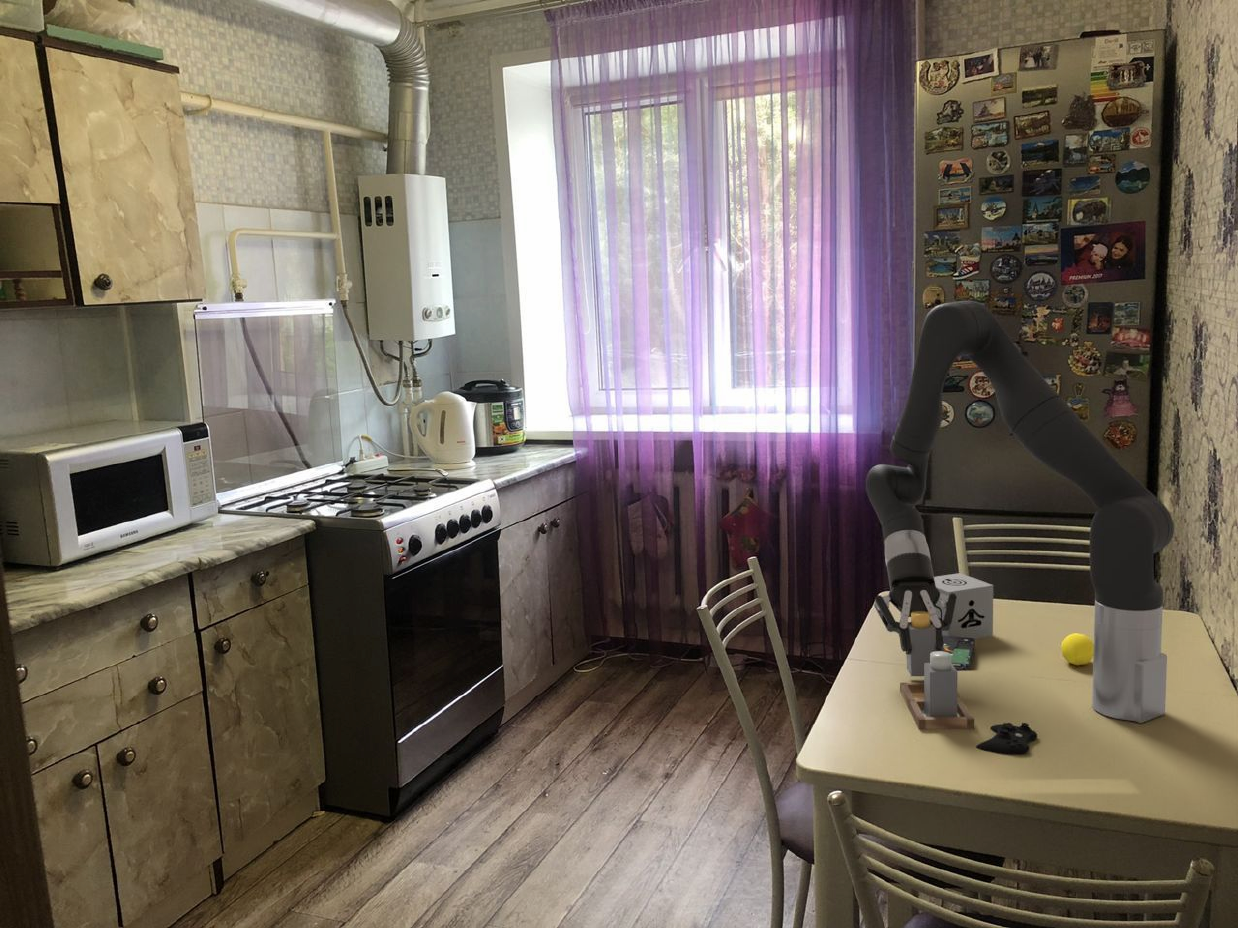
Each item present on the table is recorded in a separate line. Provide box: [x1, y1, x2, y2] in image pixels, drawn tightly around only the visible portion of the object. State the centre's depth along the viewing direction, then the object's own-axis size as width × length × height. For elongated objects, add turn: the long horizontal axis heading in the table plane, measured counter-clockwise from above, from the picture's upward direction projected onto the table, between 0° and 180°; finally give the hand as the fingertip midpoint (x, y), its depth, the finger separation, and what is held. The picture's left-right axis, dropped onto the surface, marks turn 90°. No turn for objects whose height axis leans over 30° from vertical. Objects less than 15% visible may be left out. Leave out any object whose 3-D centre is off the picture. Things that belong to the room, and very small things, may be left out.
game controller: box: [975, 722, 1038, 756], centre depth 145 cm, size 10×5×7 cm
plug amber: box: [906, 611, 936, 677], centre depth 168 cm, size 4×4×10 cm
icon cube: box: [934, 572, 994, 640], centre depth 195 cm, size 10×10×10 cm
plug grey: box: [923, 651, 958, 717], centre depth 153 cm, size 4×4×10 cm
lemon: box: [1060, 632, 1094, 666], centre depth 177 cm, size 7×5×5 cm
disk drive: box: [942, 636, 976, 672], centre depth 181 cm, size 10×3×15 cm
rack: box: [899, 681, 975, 730], centre depth 157 cm, size 8×15×3 cm, turn 175°
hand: (923, 651), depth 166 cm, fingers closed on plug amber, 4 cm apart
